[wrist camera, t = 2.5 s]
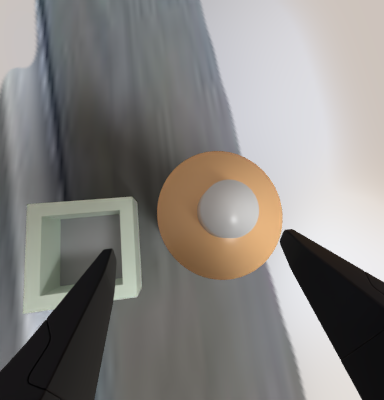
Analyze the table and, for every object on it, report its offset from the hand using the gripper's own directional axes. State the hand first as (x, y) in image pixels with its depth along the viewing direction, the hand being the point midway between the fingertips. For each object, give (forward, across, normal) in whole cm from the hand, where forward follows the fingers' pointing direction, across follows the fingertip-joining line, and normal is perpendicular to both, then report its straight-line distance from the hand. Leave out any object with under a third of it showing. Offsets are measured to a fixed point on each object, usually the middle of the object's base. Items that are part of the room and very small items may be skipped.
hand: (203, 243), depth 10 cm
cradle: (+6, +8, +6) cm, 12 cm away
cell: (+7, 0, +5) cm, 9 cm away
